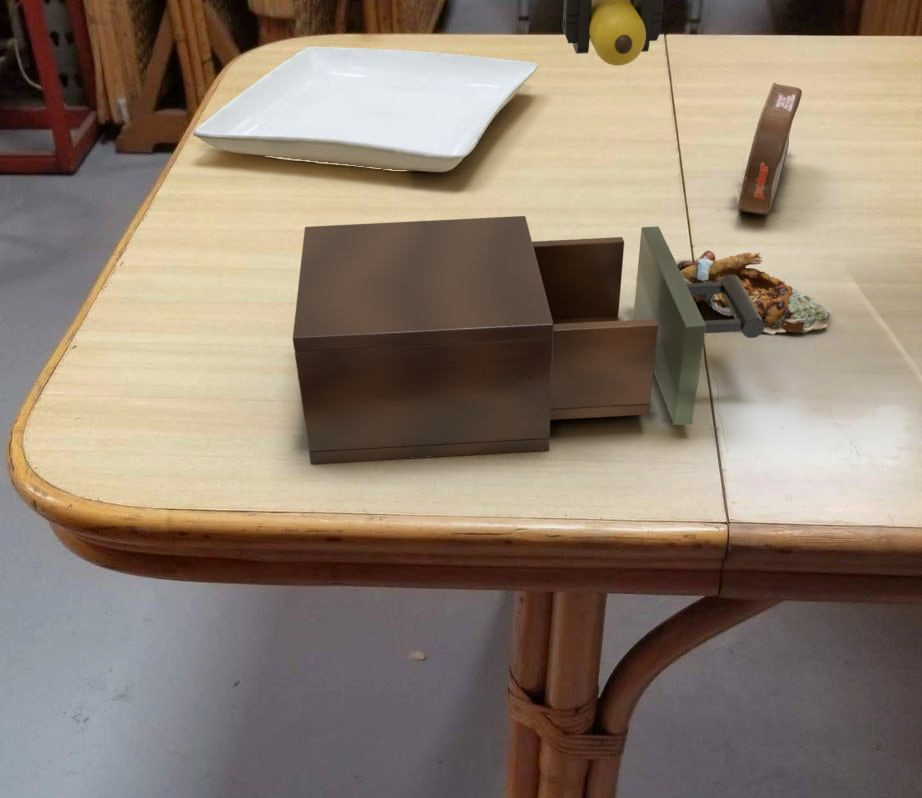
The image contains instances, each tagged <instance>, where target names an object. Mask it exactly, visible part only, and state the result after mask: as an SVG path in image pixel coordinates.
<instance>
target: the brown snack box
mask: <svg viewBox="0 0 922 798" xmlns="http://www.w3.org/2000/svg"><path fill="white" fill-rule="evenodd" d="M802 94H803V90H802V89H801V88H799V87H795V86H789V85H785V84H779V83H778V84H777V82H773V83H772V85H771V87H770V90H769V93H768V95H767V98H766V100H765V103H764V105H763V107H762V109H761V111H760V112H761V113H760V116H759V119H758V121H757V125H756V129H755V133H754V136H753V139H752V144H751V148H750V151H749V156H748V159H747V165H746V168H745V172H744V177H743V181H742V186H741V190H740V195H739V200H738V204H737V205H738V206H737V212H738V213H741V212H744V213H750V214H755V215H761V216H762V215H763V216H765V215H769V213H770V211H771V209H772V206H773V203H774V200H775V197H776V194H777V191H778V188H779V185H780V180H781V177H782V173H783V169H784V166H785V161H786V158H787V155H788V149H789V145H790V135H791V129H792V125H793V122H794V121H793V120H794V118H795V117H796V116H795V115H796V113H797V110H798V108H799V105H800V102H801V98H802Z"/></svg>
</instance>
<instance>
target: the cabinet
mask: <svg viewBox="0 0 922 798" xmlns="http://www.w3.org/2000/svg"><path fill="white" fill-rule="evenodd" d="M302 240H303V241H302V249H301V258H300V267H299V276H298V285H297V294H296V304H295V313H294V322H293V331H292V344H293V350H294V359H295V365H296V366H295V367H296V372H297V380H298V386H299V393H300V394H299V395H300V401H301V407H302V416H303V420H304V421H303V422H304V429H305V434H306V442H307V448H308V449H307V450H308V456H309V463H310V464H311V465H317V464H318V465H319V464H332V463H335V464H336V463H352V462H367V461H369V460H371V461H385V460H386V461H388V460H405V459H404V458H406V459H411V458H410V457H424V458H427V457H426V456H441V457H447V456H446V455H449V456H448V457H451V456H450V455H459V456H472V455H471V454H477V455H492V454H493V453H494V454H503V453H502V452H505V453H504V454H508V453H509V454H510V453H527V452H544V451H546V450H547V451H550V440H551V439H550V435H551V420H550V412H551V385H552V358H553V331H554V324H553V320H552V316H551V313H550V309H549V305H548V301H547V297H546V293H545V290H544V286H543V282H542V278H541V274H540V270H539V266H538V263H537V259H536V255H535V251H534V247H533V243H532V242H533V240H532V237H531V232H530V229H529V225H528V220H527V217H526V215H517V216H497V217H495V216H494V217H474V218H457V219H455V218H454V219H436V220H435V219H433V220H416V221H415V220H414V221H413V220H411V221H395V222H392V221H391V222H373V223H355V224H353V223H352V224H336V225H335V224H334V225H314V226H304V231H303V238H302ZM547 451H546V452H547ZM494 454H493V455H494Z"/></svg>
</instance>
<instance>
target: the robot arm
mask: <svg viewBox="0 0 922 798" xmlns="http://www.w3.org/2000/svg"><path fill="white" fill-rule="evenodd" d="M664 3H665V0H634V1H633V7H634V8H635V10H636V11H637V13H638V14H639V16H640V18H641V19H642V21H643V23H644V26H645V31H646V39H645V44H644V47H643V49H642V51H641V53H644V52H649V50H650V42H657V41H658V39H659V37H660V34H661V33H662V24H663V13H664ZM591 5H592V0H563V11H562V30H563V33H564V37H565V39H566V41H567V44H572V48H573V50H574V52H575V54H578V55H579V54H589V50H590V34H589V29H590V22H591Z"/></svg>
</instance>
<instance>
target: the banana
mask: <svg viewBox="0 0 922 798" xmlns="http://www.w3.org/2000/svg"><path fill="white" fill-rule="evenodd" d="M589 34H590V39H589V41H590V42H591V44H592V46H593V48H594V51H595V52H596V54H597V56H598V57H599V58H600V59H601V60H602V61H603V62H604V63H606V64H608V65H611V66H615V67H617V66H619V67H620V66H625V65H628V64H631V63H632V62H633V61H635V60H636V59H637V58H638V56H640V54H641V53H642V52H641V51H642V49H643V47H644V44H645V39H646V31H645V26H644V23H643V21H642V19H641V18H640V16H639V14H638V13H637V11H636V10H635V8H634V4H632V2H631V0H592V5H591V22H590V29H589Z"/></svg>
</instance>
